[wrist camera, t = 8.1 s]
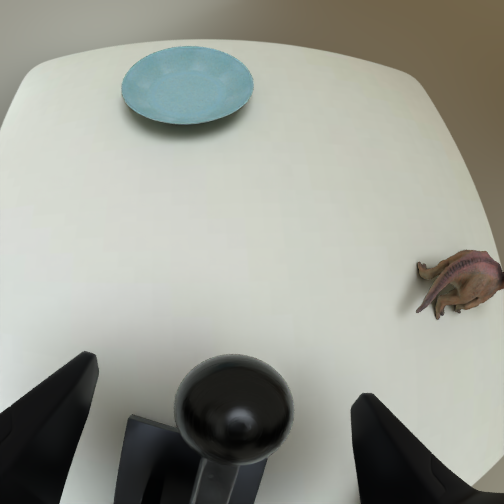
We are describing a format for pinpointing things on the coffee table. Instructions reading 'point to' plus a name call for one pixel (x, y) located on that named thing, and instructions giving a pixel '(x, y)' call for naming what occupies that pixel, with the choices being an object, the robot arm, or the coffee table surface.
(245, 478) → the bracket
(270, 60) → the coffee table surface
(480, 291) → the dinosaur figurine
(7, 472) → the robot arm
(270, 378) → the lever
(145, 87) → the saucer
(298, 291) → the coffee table surface
